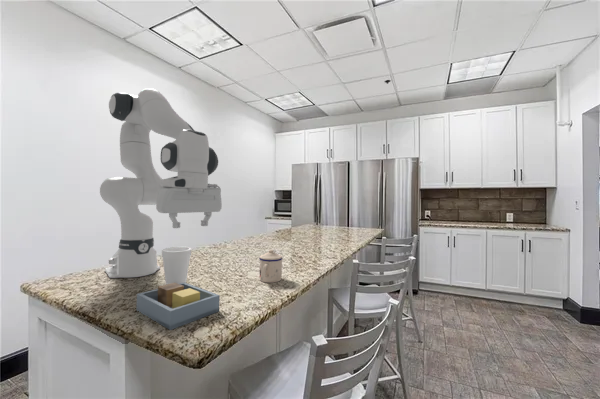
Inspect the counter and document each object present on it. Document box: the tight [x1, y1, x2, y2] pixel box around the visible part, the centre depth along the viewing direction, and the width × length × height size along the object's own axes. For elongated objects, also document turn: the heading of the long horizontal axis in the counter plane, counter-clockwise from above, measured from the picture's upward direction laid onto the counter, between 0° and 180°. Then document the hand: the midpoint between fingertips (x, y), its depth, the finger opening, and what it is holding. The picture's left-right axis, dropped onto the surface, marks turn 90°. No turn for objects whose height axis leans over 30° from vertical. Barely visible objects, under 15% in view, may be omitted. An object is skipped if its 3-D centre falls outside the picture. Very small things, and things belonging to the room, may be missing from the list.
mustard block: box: [172, 288, 200, 309], centre depth 73 cm, size 5×5×5 cm
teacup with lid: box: [258, 249, 283, 284], centre depth 105 cm, size 12×9×12 cm
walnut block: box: [157, 283, 184, 307], centre depth 78 cm, size 5×5×5 cm
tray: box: [136, 282, 221, 331], centre depth 75 cm, size 18×14×4 cm
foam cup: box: [161, 246, 192, 285], centre depth 96 cm, size 10×9×13 cm
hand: (190, 227), depth 84 cm, fingers open, 8 cm apart
